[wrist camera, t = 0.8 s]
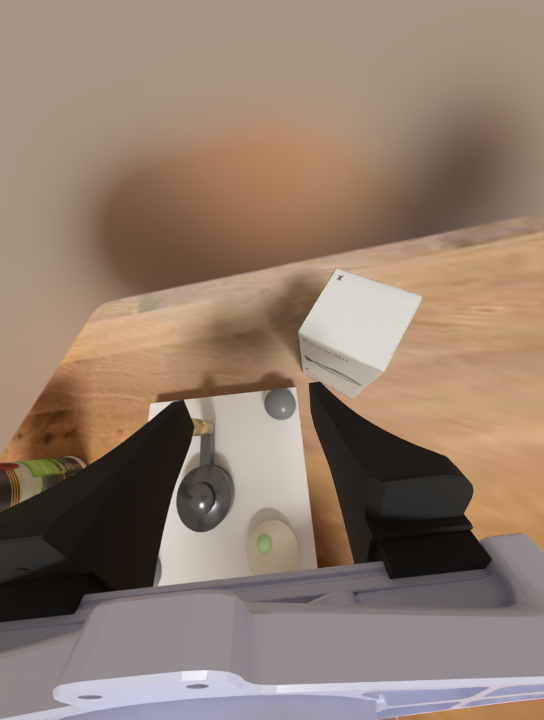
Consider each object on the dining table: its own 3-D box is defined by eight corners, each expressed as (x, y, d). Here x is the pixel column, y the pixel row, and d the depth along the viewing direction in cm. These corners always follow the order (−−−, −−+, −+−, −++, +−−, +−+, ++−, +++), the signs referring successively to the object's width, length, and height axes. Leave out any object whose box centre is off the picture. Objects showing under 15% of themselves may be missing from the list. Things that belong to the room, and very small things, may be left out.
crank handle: (234, 525, 22) (214, 549, 17) (182, 527, 23) (149, 550, 18) (233, 418, 26) (216, 414, 21) (188, 422, 27) (162, 420, 22)
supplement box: (301, 373, 29) (293, 330, 17) (326, 330, 30) (336, 263, 18) (352, 401, 26) (385, 374, 15) (378, 352, 28) (426, 292, 16)
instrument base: (320, 587, 21) (321, 619, 17) (140, 584, 24) (110, 610, 20) (296, 390, 28) (294, 383, 24) (160, 405, 31) (140, 401, 27)
